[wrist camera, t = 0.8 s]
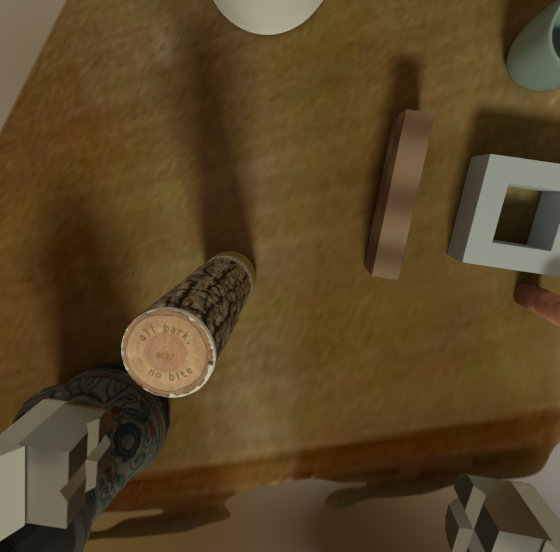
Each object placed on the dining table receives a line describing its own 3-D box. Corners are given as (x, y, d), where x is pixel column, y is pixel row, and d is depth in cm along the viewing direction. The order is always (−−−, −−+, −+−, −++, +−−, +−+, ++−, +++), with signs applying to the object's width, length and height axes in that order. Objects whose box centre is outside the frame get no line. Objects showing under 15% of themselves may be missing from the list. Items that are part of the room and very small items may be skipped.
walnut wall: (393, 118, 46) (406, 109, 41) (418, 122, 46) (435, 113, 41) (364, 265, 51) (372, 275, 45) (387, 268, 51) (397, 279, 45)
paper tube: (209, 245, 51) (123, 301, 27) (260, 254, 51) (220, 317, 27) (203, 295, 53) (118, 389, 29) (253, 303, 53) (209, 404, 28)
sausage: (517, 280, 50) (562, 301, 41) (540, 284, 50) (591, 305, 41) (510, 303, 51) (553, 327, 42) (533, 306, 51) (581, 332, 42)
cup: (524, 9, 43) (588, -42, 33) (582, 45, 44) (662, 6, 34) (481, 77, 45) (530, 47, 35) (538, 111, 45) (602, 91, 36)
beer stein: (96, 472, 61) (-44, 664, 36) (35, 363, 57) (-166, 496, 33) (191, 441, 58) (111, 625, 34) (134, 326, 55) (-2, 440, 30)
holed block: (471, 156, 47) (490, 153, 42) (571, 171, 47) (603, 170, 42) (446, 254, 50) (462, 262, 45) (541, 268, 49) (567, 278, 45)
